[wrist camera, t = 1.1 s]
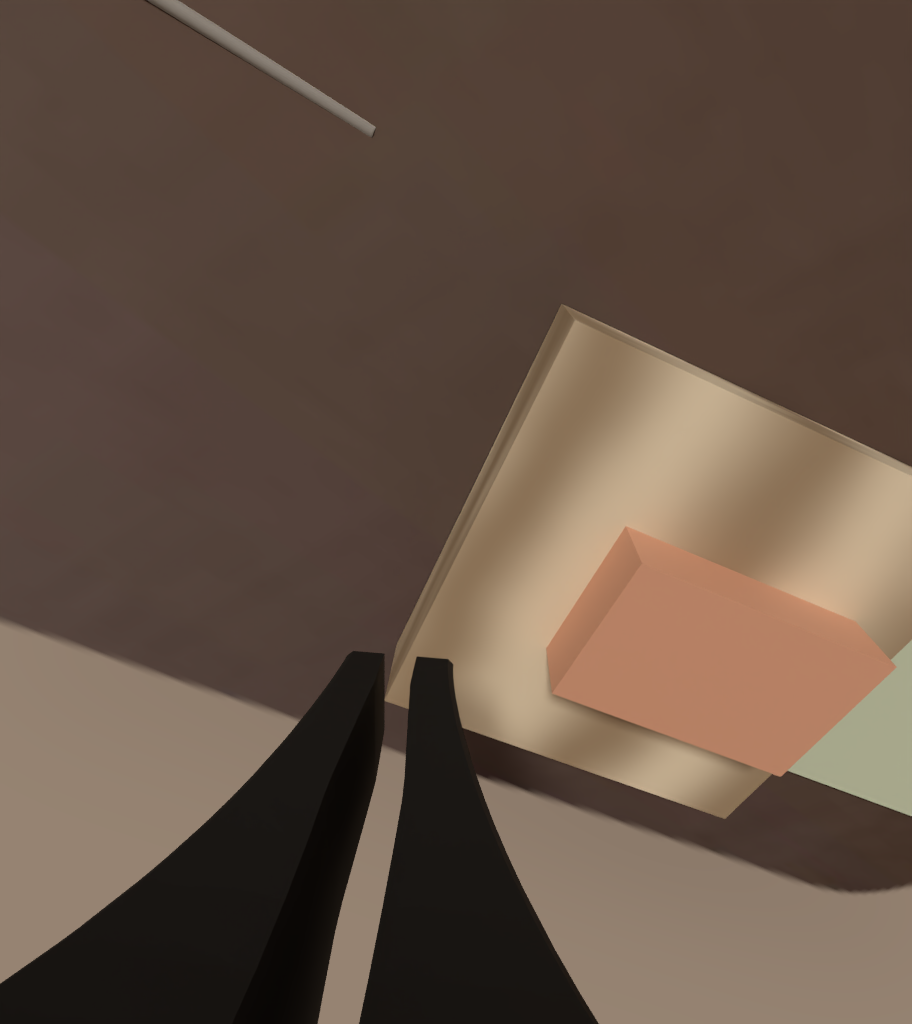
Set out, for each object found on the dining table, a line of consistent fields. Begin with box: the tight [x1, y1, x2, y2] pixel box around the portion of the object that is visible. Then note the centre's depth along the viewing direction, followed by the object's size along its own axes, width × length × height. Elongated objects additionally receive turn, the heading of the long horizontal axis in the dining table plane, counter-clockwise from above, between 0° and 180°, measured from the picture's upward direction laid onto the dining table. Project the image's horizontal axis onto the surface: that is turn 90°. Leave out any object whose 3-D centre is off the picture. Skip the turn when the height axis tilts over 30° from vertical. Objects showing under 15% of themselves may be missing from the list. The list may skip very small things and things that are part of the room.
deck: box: [384, 304, 912, 819], centre depth 19 cm, size 14×14×3 cm
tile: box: [546, 526, 897, 777], centre depth 17 cm, size 8×5×2 cm, turn 67°
